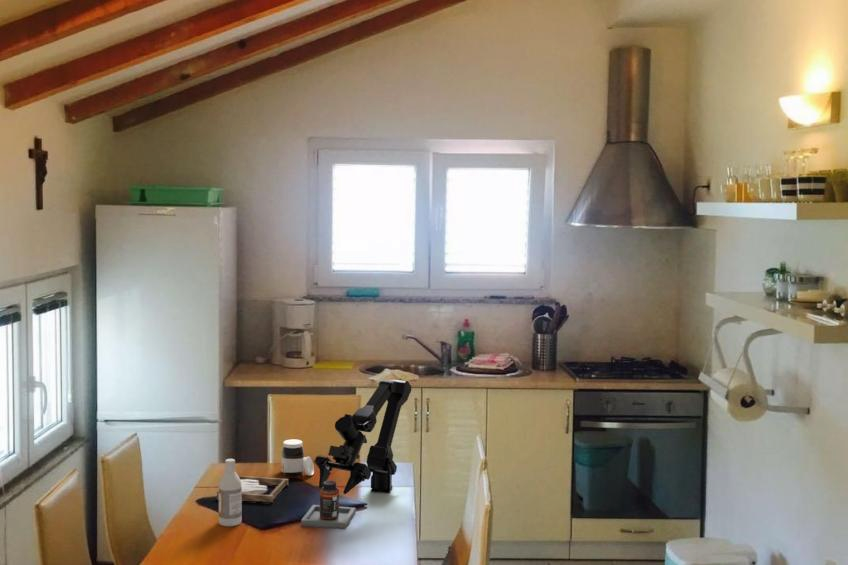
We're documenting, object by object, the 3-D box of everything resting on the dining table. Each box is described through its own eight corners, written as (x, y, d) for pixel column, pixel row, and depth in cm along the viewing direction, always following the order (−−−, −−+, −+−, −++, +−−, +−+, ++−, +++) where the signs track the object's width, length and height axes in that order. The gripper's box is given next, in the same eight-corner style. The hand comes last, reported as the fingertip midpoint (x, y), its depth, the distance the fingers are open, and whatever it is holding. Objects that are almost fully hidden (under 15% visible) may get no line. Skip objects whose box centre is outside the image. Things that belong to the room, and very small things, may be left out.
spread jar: (280, 469, 339) (280, 438, 337) (310, 467, 342) (310, 436, 341) (285, 480, 327) (285, 448, 326) (316, 477, 331) (316, 445, 329)
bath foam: (217, 519, 288) (217, 457, 286) (240, 518, 290) (240, 455, 288) (219, 528, 281) (219, 464, 279) (242, 525, 283) (242, 462, 281)
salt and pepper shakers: (236, 501, 305) (270, 498, 309) (237, 489, 304) (270, 486, 309) (229, 490, 316) (261, 487, 320) (229, 478, 315) (261, 475, 320)
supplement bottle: (340, 520, 288) (340, 484, 287) (321, 521, 287) (321, 486, 285) (337, 513, 294) (337, 478, 293) (318, 514, 292) (318, 479, 291)
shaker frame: (288, 486, 321) (288, 479, 321) (272, 503, 303) (272, 496, 303) (235, 482, 323) (235, 475, 323) (217, 499, 306) (217, 492, 305)
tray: (355, 513, 296) (355, 507, 296) (345, 529, 282) (345, 523, 282) (313, 510, 298) (313, 504, 298) (301, 525, 284) (301, 520, 284)
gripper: (317, 430, 298) (297, 473, 289) (366, 439, 289) (347, 483, 281) (331, 448, 306) (311, 490, 297) (379, 457, 297) (360, 500, 288)
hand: (332, 490), depth 291 cm, fingers open, 9 cm apart
